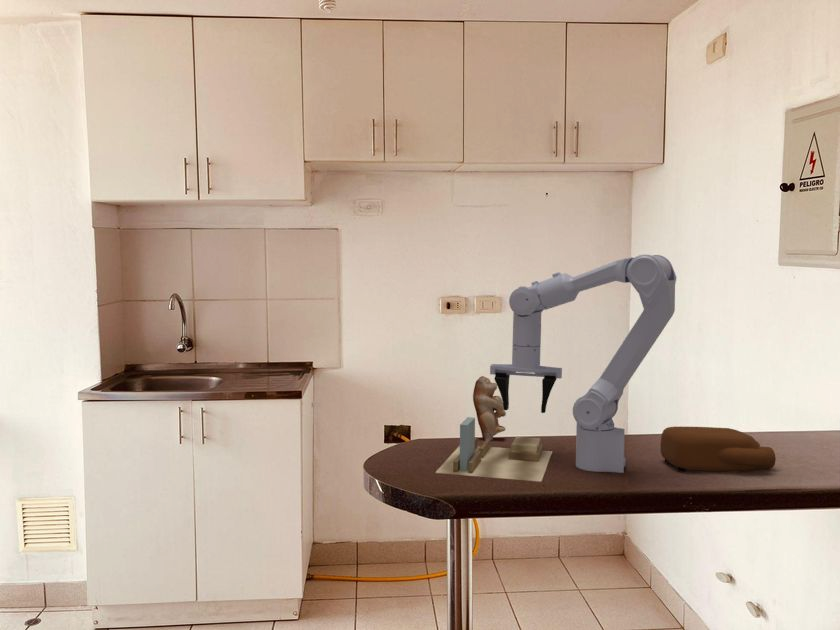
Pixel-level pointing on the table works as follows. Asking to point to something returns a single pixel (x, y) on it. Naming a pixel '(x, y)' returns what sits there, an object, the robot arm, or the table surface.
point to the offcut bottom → (525, 455)
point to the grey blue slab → (467, 442)
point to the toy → (714, 449)
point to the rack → (496, 464)
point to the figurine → (488, 407)
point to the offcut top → (525, 445)
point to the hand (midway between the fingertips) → (524, 410)
